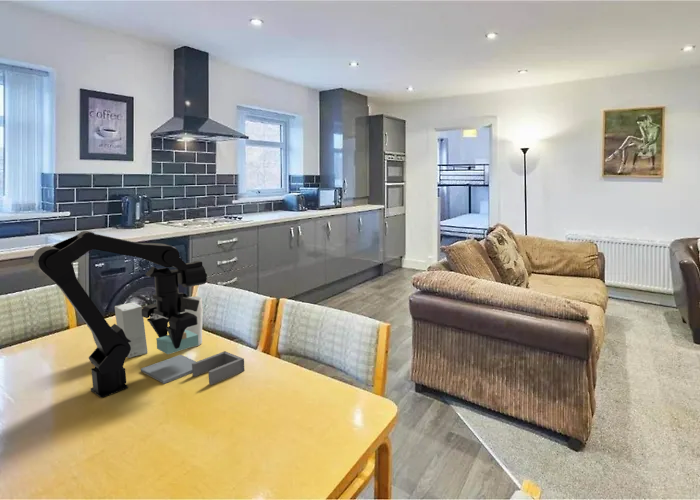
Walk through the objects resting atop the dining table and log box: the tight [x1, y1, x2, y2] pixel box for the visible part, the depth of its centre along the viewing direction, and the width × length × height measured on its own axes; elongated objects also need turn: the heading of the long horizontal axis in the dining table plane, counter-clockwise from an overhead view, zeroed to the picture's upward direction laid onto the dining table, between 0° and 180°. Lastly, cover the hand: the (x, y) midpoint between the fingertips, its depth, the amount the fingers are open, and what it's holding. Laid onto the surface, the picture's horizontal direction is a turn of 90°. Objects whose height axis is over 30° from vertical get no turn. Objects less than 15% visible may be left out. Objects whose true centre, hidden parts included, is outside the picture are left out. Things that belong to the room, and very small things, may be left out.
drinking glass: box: [179, 296, 204, 348], centre depth 136 cm, size 7×7×15 cm
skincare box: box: [114, 301, 149, 359], centre depth 130 cm, size 8×6×15 cm
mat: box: [140, 354, 197, 385], centre depth 119 cm, size 12×12×1 cm
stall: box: [191, 350, 245, 386], centre depth 117 cm, size 11×9×4 cm
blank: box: [156, 330, 199, 355], centre depth 119 cm, size 9×6×4 cm, turn 139°
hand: (170, 345), depth 118 cm, fingers closed on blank, 6 cm apart
